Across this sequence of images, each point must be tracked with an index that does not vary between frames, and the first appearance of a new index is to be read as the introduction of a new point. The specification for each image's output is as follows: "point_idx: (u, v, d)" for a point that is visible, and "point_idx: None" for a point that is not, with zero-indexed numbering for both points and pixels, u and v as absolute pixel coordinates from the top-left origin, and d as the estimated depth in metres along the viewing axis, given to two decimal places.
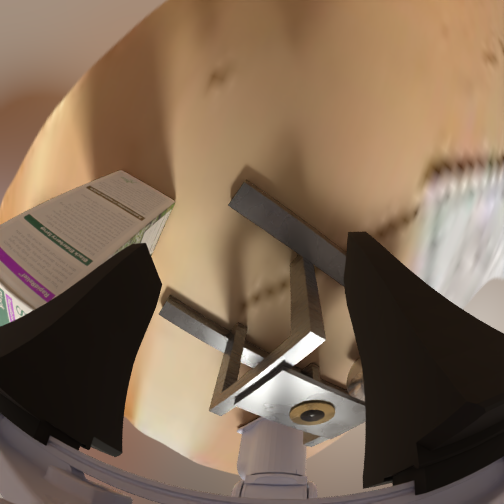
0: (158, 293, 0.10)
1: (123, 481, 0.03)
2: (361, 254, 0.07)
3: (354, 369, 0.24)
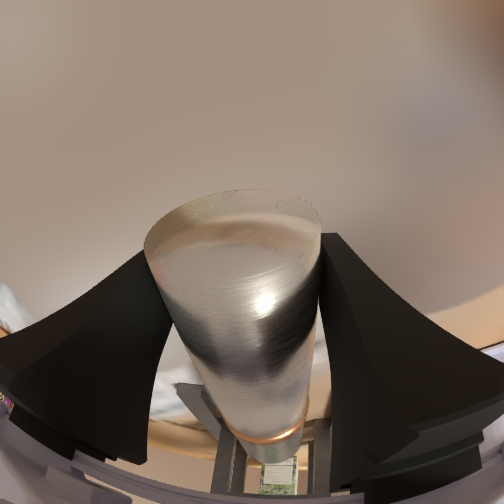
0: None
1: (123, 481, 0.03)
2: (326, 256, 0.07)
3: None
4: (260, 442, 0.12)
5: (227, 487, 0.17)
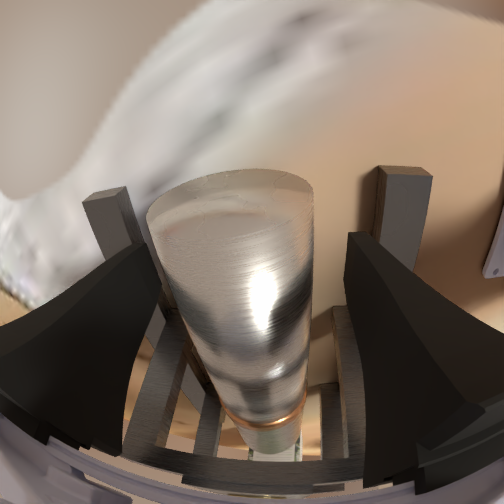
0: (158, 293, 0.10)
1: (123, 481, 0.03)
2: (361, 254, 0.07)
3: None
4: (255, 427, 0.12)
5: (157, 437, 0.09)
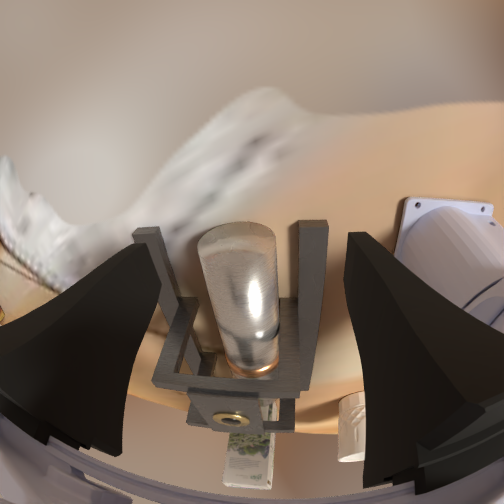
0: (158, 293, 0.10)
1: (123, 481, 0.03)
2: (360, 254, 0.07)
3: None
4: (263, 371, 0.22)
5: (174, 368, 0.18)
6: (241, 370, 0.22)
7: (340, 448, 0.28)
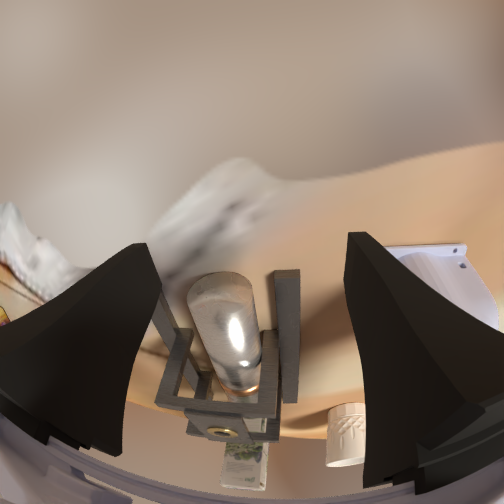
0: (158, 293, 0.10)
1: (123, 481, 0.03)
2: (360, 254, 0.07)
3: None
4: (250, 392, 0.25)
5: (173, 392, 0.21)
6: (231, 391, 0.25)
7: (327, 454, 0.31)
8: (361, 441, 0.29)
